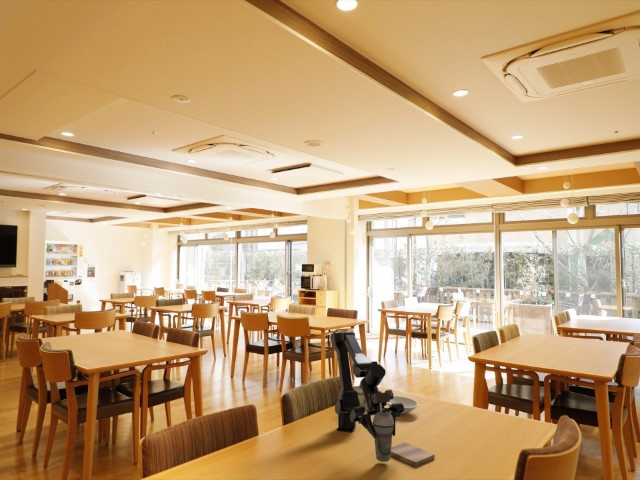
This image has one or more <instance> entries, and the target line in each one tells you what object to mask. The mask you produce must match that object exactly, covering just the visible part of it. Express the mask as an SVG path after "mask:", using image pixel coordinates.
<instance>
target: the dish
mask: <svg viewBox="0 0 640 480" xmlns="http://www.w3.org/2000/svg"><path fill="white" fill-rule="evenodd" d="M393 396H394V399H392V400H390V402H386V403H387V405H386V406H388V408H389V407H390V406H391V404H393V403H402V404H403V405H404V408H405V410H404V412H403V413H402V414H404V413H406V414H407V413H410V412H412V411H414V410H415V409H416V408H417V407H419V404H420V403H419V402H418V401H417V400H415V399H413V398H411V397H407V396H403V395H402V396H401V395H393Z"/></svg>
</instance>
